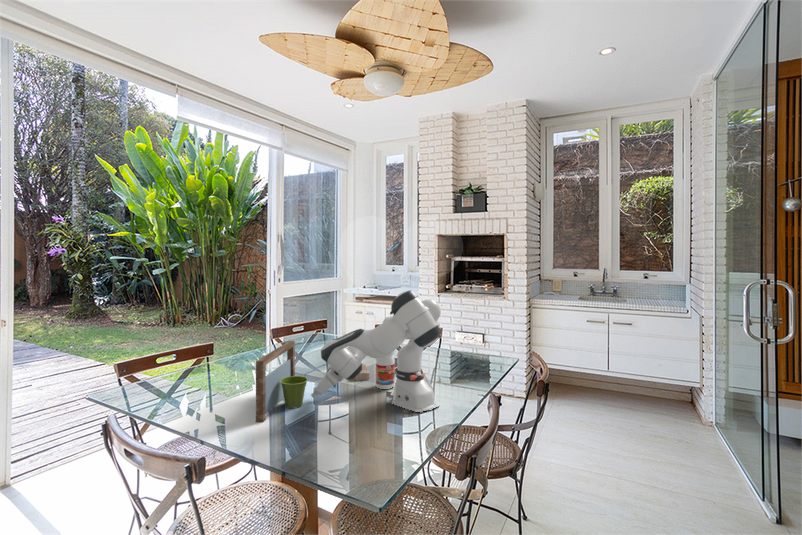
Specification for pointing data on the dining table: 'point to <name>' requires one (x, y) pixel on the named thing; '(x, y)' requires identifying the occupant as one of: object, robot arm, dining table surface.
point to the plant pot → (293, 390)
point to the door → (276, 384)
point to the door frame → (262, 376)
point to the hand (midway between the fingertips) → (315, 392)
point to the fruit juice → (385, 371)
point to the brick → (363, 374)
